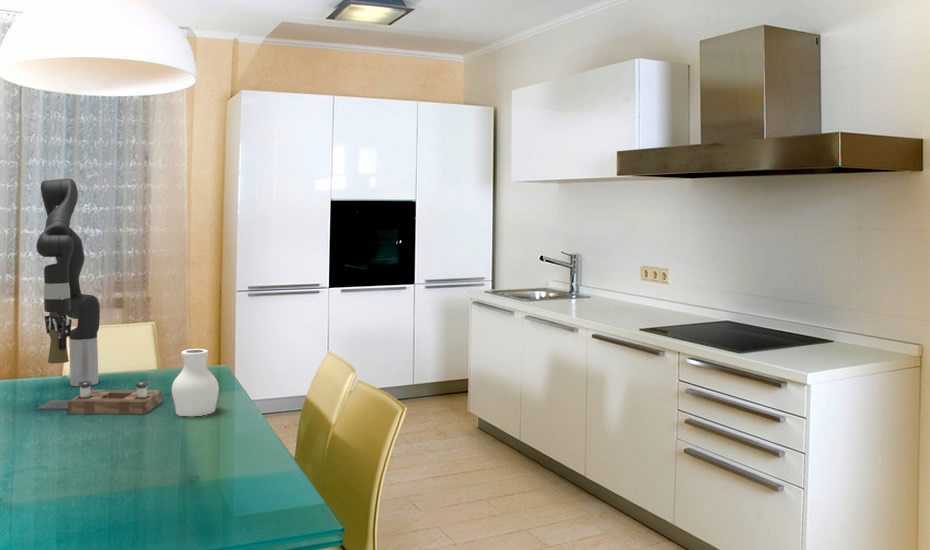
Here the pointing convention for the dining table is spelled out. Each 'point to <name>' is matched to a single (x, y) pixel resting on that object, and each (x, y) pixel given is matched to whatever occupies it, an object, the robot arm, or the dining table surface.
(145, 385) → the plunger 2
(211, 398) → the vase
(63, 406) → the pad
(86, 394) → the plunger
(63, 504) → the dining table surface
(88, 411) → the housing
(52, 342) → the cork
